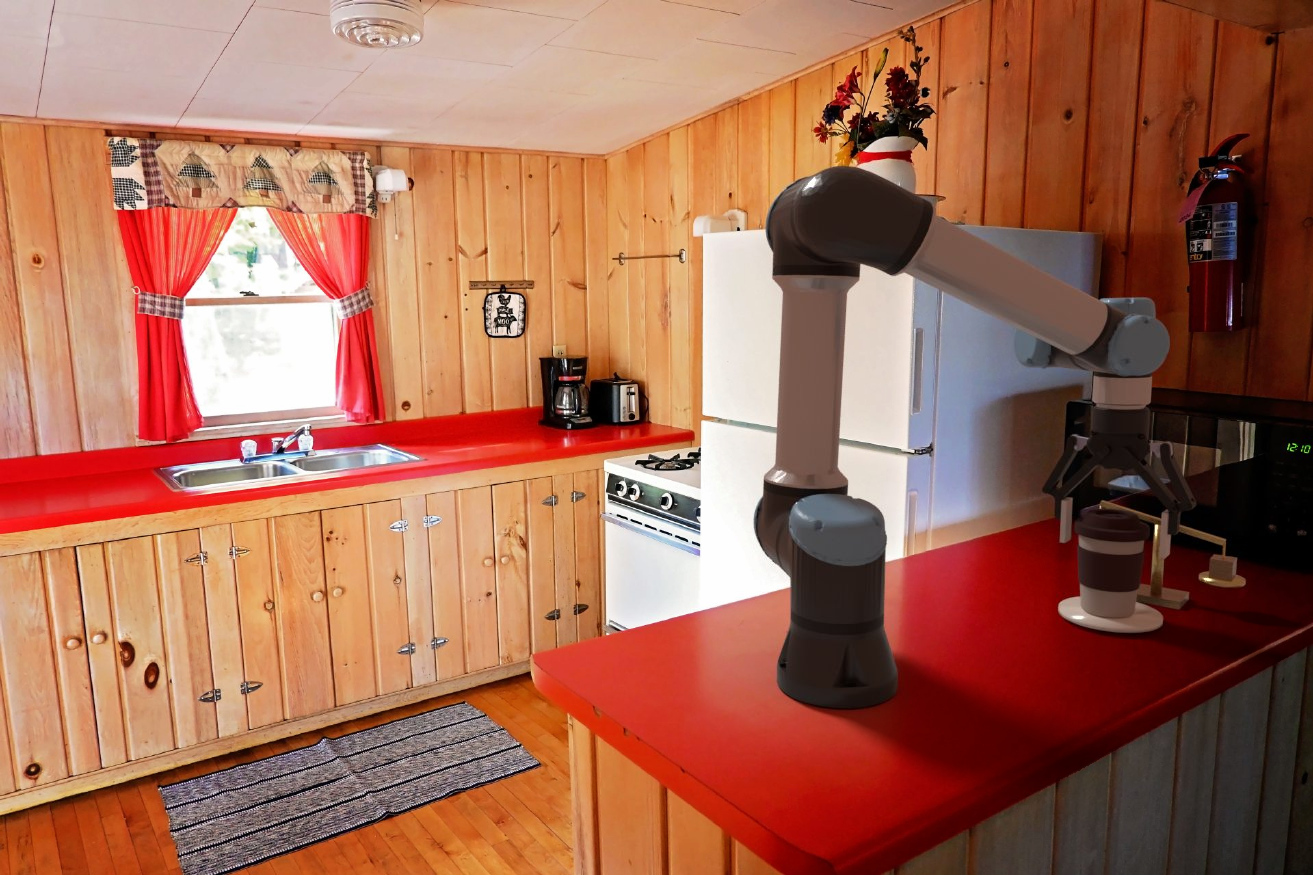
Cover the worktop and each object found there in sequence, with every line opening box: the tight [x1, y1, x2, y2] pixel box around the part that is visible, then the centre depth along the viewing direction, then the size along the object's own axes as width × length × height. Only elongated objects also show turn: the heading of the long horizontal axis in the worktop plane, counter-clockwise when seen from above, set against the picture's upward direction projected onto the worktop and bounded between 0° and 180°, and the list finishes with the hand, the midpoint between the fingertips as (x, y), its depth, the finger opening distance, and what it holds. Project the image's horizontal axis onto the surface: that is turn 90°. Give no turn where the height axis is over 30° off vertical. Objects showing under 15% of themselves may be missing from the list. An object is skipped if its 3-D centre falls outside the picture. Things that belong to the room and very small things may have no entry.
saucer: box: [1057, 596, 1164, 634], centre depth 136 cm, size 14×14×1 cm
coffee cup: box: [1074, 507, 1151, 618], centre depth 135 cm, size 10×10×15 cm
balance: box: [1099, 499, 1247, 611], centre depth 143 cm, size 6×24×15 cm, turn 48°
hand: (1113, 548), depth 134 cm, fingers open, 13 cm apart
